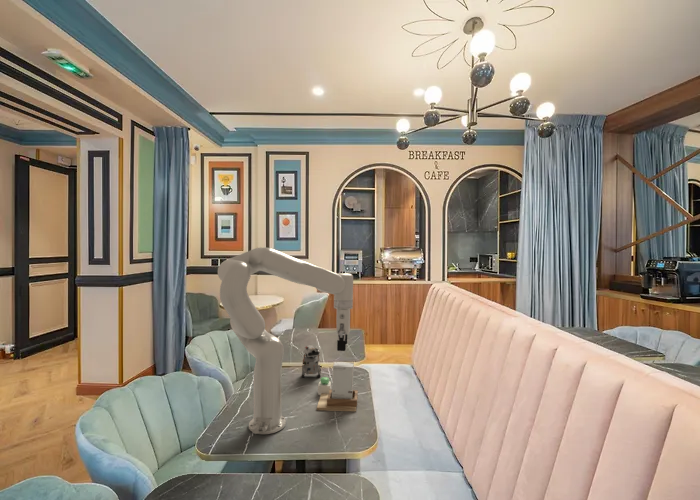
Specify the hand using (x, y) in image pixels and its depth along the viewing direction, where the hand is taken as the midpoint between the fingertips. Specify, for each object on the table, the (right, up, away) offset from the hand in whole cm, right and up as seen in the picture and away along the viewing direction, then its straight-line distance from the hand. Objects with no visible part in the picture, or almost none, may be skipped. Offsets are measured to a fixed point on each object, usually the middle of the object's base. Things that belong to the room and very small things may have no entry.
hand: (342, 347), depth 140 cm
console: (-8, -22, +10) cm, 26 cm away
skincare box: (0, -22, +1) cm, 22 cm away
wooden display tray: (-2, -23, +1) cm, 23 cm away
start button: (-8, -22, +10) cm, 25 cm away
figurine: (-15, -23, +27) cm, 39 cm away
